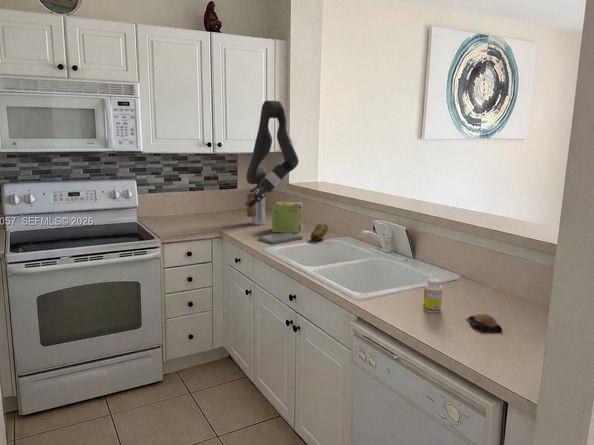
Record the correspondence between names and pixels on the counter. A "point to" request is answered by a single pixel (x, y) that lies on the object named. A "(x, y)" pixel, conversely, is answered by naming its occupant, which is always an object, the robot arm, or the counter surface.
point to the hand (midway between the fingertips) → (247, 205)
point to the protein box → (287, 217)
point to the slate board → (280, 238)
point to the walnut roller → (252, 211)
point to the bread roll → (484, 323)
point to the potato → (319, 232)
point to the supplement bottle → (432, 295)
